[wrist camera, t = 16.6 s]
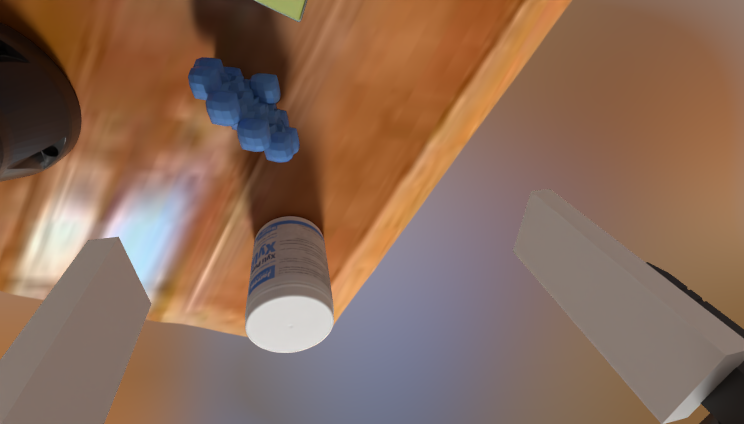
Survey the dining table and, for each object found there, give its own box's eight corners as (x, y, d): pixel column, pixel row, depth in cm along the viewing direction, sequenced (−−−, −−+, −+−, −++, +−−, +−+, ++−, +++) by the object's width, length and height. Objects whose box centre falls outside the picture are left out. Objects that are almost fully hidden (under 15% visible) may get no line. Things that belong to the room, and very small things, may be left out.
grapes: (320, 101, 40) (331, 140, 30) (283, 144, 41) (281, 193, 32) (229, 19, 34) (204, 33, 24) (189, 73, 36) (151, 106, 26)
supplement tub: (260, 207, 45) (250, 288, 33) (331, 218, 48) (345, 296, 36) (250, 265, 50) (237, 354, 38) (315, 271, 53) (324, 356, 41)
